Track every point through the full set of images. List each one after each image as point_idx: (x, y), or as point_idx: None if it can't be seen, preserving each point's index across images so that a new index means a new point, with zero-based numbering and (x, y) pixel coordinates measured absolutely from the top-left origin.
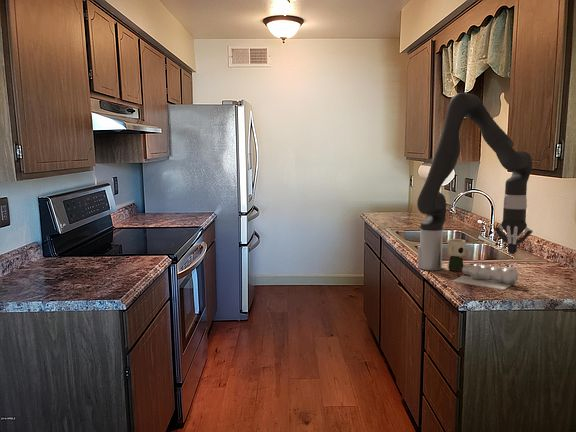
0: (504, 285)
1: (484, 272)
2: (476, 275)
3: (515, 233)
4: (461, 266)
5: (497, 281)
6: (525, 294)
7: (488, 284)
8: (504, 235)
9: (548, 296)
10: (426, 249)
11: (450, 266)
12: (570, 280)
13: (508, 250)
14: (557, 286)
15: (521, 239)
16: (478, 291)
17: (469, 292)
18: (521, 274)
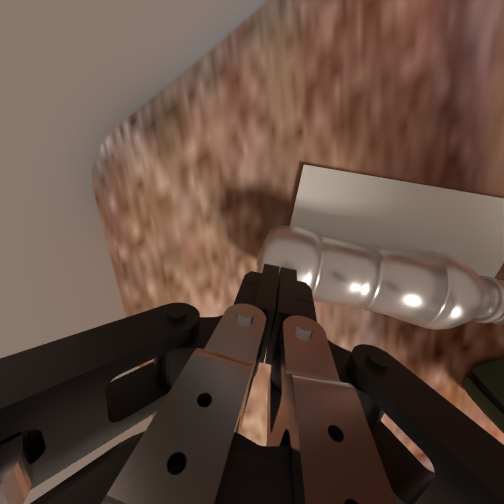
0: (305, 224)
1: (405, 255)
2: (434, 251)
3: (183, 433)
4: (487, 383)
5: None
6: (222, 142)
7: (368, 210)
8: (394, 479)
9: (149, 158)
10: None
11: None
12: None
13: (305, 288)
14: (154, 296)
15: (138, 333)
16: (415, 79)
17: (465, 28)
18: (265, 387)
